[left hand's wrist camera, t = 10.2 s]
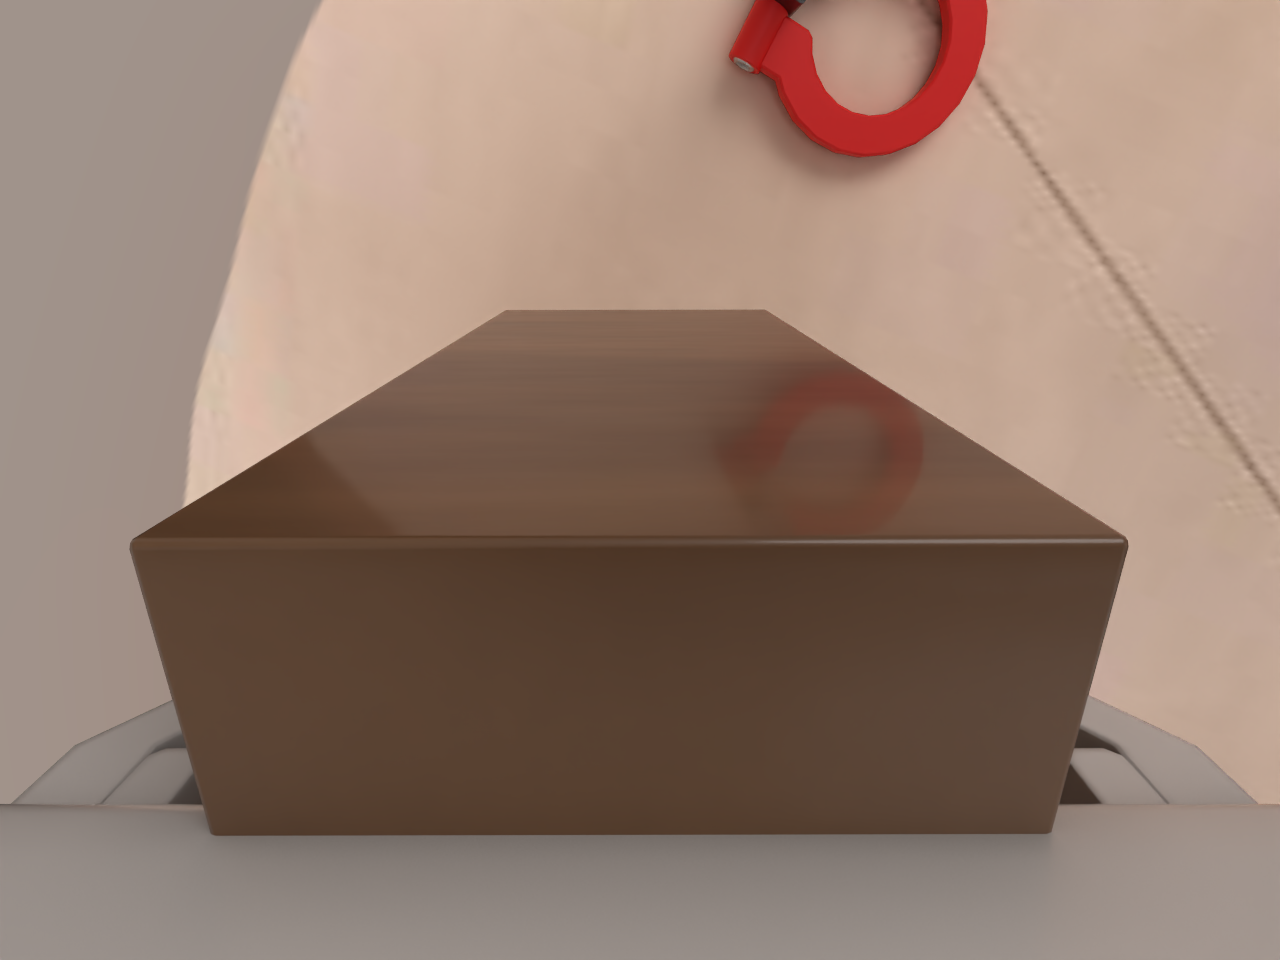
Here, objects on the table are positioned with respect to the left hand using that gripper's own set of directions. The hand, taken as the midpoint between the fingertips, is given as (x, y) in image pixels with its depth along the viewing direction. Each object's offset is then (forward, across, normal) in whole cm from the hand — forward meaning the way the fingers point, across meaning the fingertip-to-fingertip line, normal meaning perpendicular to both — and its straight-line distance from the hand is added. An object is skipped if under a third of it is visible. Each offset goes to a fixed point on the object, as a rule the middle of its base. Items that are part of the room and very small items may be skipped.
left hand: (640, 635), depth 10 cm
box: (+7, 0, -7) cm, 10 cm away
